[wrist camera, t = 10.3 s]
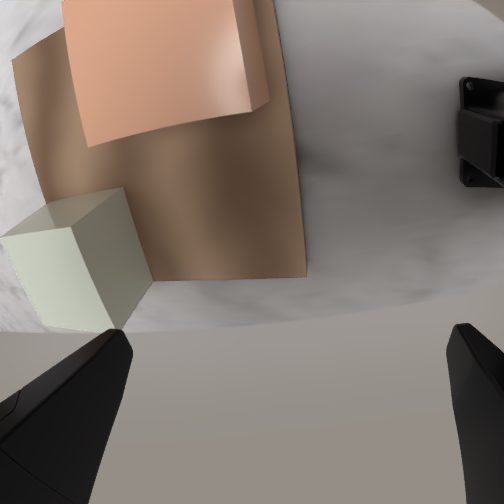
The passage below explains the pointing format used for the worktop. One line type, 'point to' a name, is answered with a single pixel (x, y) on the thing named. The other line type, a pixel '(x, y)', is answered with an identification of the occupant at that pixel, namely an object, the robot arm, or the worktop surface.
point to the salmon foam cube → (162, 63)
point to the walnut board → (180, 171)
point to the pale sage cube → (81, 261)
